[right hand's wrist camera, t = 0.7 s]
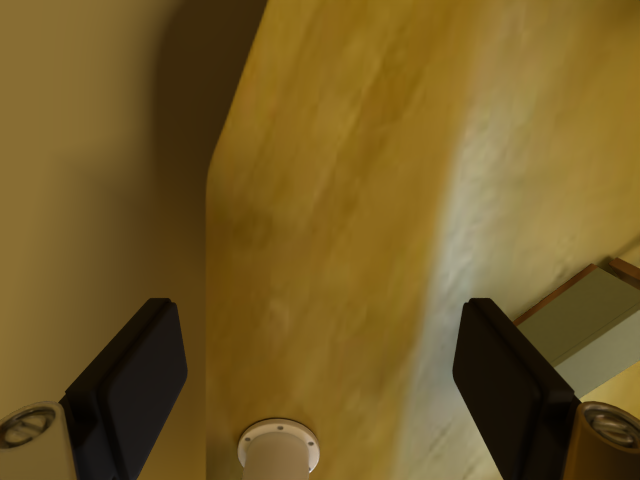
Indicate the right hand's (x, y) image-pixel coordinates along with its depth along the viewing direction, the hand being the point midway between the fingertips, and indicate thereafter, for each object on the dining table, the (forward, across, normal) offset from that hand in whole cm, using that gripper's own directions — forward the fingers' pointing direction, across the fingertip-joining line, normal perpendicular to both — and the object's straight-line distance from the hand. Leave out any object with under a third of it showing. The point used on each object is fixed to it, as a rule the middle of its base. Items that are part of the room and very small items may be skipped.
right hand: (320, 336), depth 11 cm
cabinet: (+30, +29, -20) cm, 46 cm away
